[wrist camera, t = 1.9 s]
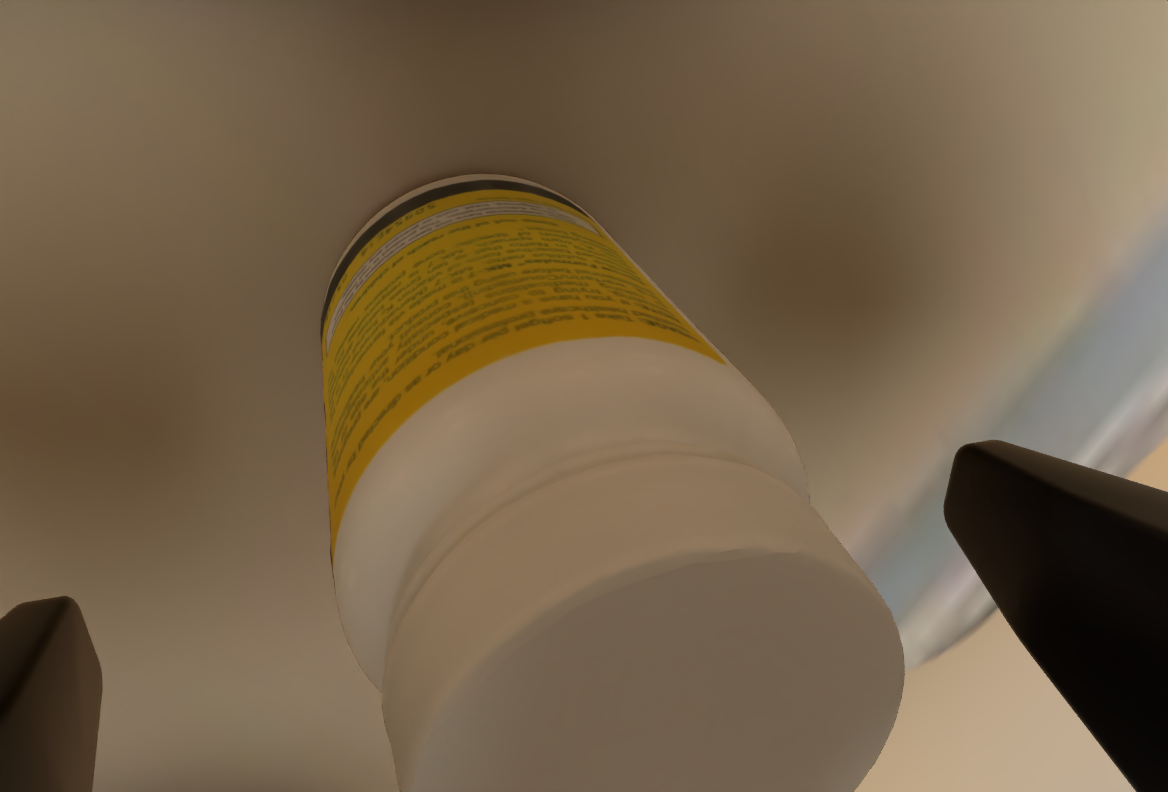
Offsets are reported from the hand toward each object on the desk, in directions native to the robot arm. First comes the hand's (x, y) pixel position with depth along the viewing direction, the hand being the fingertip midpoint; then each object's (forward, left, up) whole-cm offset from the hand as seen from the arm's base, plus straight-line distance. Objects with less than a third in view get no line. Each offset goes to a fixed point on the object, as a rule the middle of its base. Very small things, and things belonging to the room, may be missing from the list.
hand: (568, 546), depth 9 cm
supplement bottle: (0, 0, -6) cm, 6 cm away
